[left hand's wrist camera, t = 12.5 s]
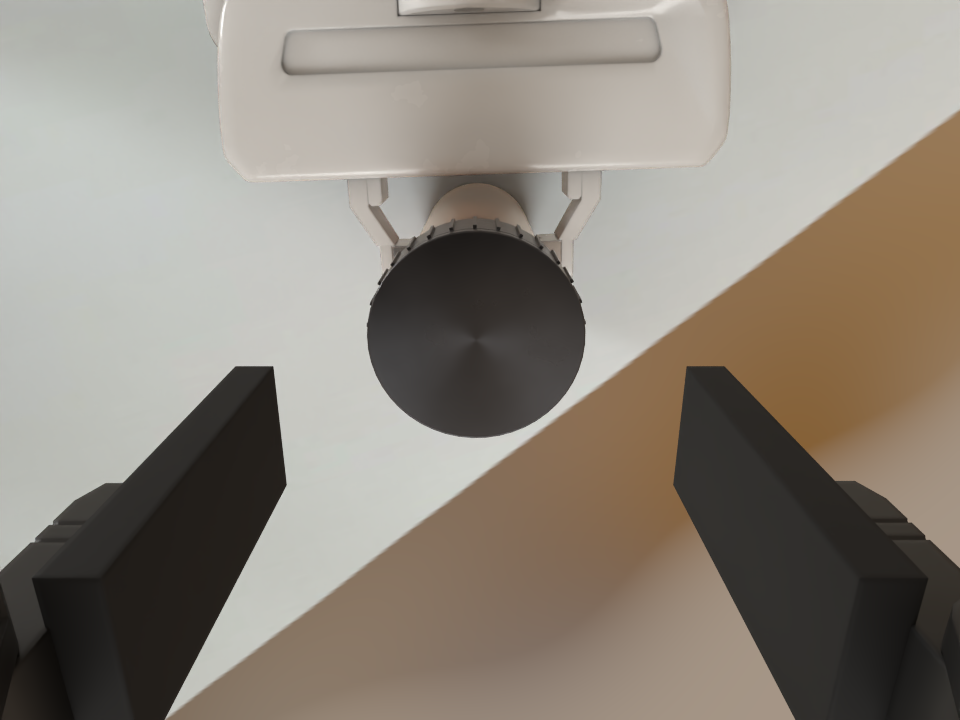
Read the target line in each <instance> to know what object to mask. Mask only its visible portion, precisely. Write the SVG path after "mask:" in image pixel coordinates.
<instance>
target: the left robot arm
mask: <svg viewBox="0 0 960 720" xmlns="http://www.w3.org/2000/svg"><path fill="white" fill-rule="evenodd" d="M286 485H287V484H286V475H285V466H284V457H283V448H282V439H281V431H280V422H279V413H278V404H277V395H276V386H275V378H274V369H273V366H236V367H235V368H234V369H233V370H232V371H231V372H230V373H229V374H228V375H227V376H226V377H225V378H224V379H223V380H222V381H221V382H220V383H219V384H218V385H217V386H216V387H215V388H214V389H213V390H212V391H211V392H210V393H209V395H208V396H207V397H206V398H205V399H204V400H203V401H202V402H201V403H200V404H199V405H198V406H197V407H196V408H195V409H194V410H193V411H192V412H191V413H190V414H189V415H188V416H187V417H186V418H185V419H184V420H183V421H182V423H181V424H180V425H179V426H178V427H177V428H176V429H175V430H174V431H173V432H172V433H171V434H170V435H169V436H168V437H167V438H166V439H165V440H164V441H163V442H162V443H161V444H160V445H159V446H158V447H157V448H156V449H155V450H154V452H153V453H152V454H151V455H150V456H149V457H148V458H147V459H146V460H145V461H144V462H143V463H142V464H141V465H140V466H139V467H138V468H137V469H136V470H135V471H134V472H133V473H132V474H131V475H130V476H129V477H128V478H127V480H126V481H125V482H124V483H105V484H103V485H102V486H100V487H98V488H96V489H95V490H93V491H91V492H89V493H87V494H86V495H84V496H82V497H80V498H79V499H77V500H75V501H74V502H73V503H72V504H71V505H70V506H68V507H67V508H66V509H65V510H64V511H63V512H62V513H61V514H60V515H59V516H58V517H57V518H56V519H55V520H54V521H53V525H49V526H48V527H47V528H45V529H44V530H43V531H42V532H41V533H40V534H39V535H38V536H37V537H36V538H35V543H30V544H29V545H28V546H27V547H26V548H25V549H24V550H22V551H21V552H20V553H19V554H18V555H17V556H16V557H15V558H14V559H13V560H12V561H11V562H10V563H9V564H8V565H7V566H6V567H5V568H4V569H3V570H2V571H1V572H0V720H165V718H166V716H167V714H168V712H169V710H170V708H171V706H172V704H173V703H174V701H175V699H176V697H177V695H178V693H179V691H180V689H181V687H182V685H183V683H184V681H185V679H186V678H187V676H188V674H189V672H190V670H191V668H192V666H193V664H194V662H195V660H196V658H197V656H198V654H199V653H200V651H201V649H202V647H203V645H204V643H205V641H206V639H207V637H208V635H209V633H210V631H211V629H212V628H213V626H214V624H215V622H216V620H217V618H218V616H219V614H220V612H221V610H222V608H223V606H224V604H225V603H226V601H227V599H228V597H229V595H230V593H231V591H232V589H233V587H234V585H235V583H236V581H237V579H238V578H239V576H240V574H241V572H242V570H243V568H244V566H245V564H246V562H247V560H248V558H249V556H250V554H251V553H252V551H253V549H254V547H255V545H256V543H257V541H258V539H259V537H260V535H261V533H262V531H263V529H264V528H265V526H266V524H267V522H268V520H269V518H270V516H271V514H272V512H273V510H274V508H275V506H276V504H277V503H278V501H279V499H280V497H281V495H282V493H283V491H284V489H285V487H286ZM673 485H674V487H675V489H676V491H677V493H678V495H679V497H680V499H681V501H682V503H683V504H684V506H685V508H686V510H687V512H688V514H689V516H690V518H691V520H692V522H693V524H694V526H695V528H696V529H697V531H698V533H699V535H700V537H701V539H702V541H703V543H704V545H705V547H706V549H707V551H708V552H709V554H710V556H711V558H712V560H713V562H714V564H715V566H716V568H717V570H718V572H719V574H720V576H721V577H722V579H723V581H724V583H725V585H726V587H727V589H728V591H729V593H730V595H731V597H732V599H733V601H734V603H735V604H736V606H737V608H738V610H739V612H740V614H741V616H742V618H743V620H744V622H745V624H746V626H747V628H748V629H749V631H750V633H751V635H752V637H753V639H754V641H755V643H756V645H757V647H758V649H759V650H760V653H761V654H762V656H763V658H764V660H765V662H766V664H767V666H768V668H769V670H770V672H771V674H772V676H773V677H774V679H775V681H776V683H777V685H778V687H779V689H780V691H781V693H782V695H783V697H784V699H785V701H786V702H787V704H788V706H789V708H790V710H791V712H792V714H793V716H794V718H795V720H960V568H959V567H958V566H957V565H956V564H955V563H954V562H952V561H951V560H950V559H949V558H948V557H947V556H946V555H945V554H944V553H943V552H942V551H941V550H940V549H939V548H938V547H937V546H936V545H935V544H933V542H931V541H930V540H926V539H925V535H924V534H923V533H922V532H921V531H920V530H919V529H918V528H917V527H916V526H915V525H913V524H912V523H908V521H907V518H906V517H905V516H904V515H903V514H902V513H901V512H900V511H899V510H898V509H897V508H896V507H895V506H894V505H892V504H891V503H890V502H889V501H888V500H887V499H886V498H884V497H883V496H881V495H879V494H877V493H875V492H874V491H872V490H870V489H868V488H866V487H865V486H863V485H861V484H859V483H857V482H856V481H834V480H833V478H832V477H831V476H830V475H829V474H828V473H827V472H826V471H825V470H824V469H823V468H822V467H821V466H820V465H819V464H818V463H817V462H816V461H815V460H814V459H813V458H812V457H811V456H810V455H809V454H808V453H807V452H806V451H805V449H804V448H803V447H802V446H801V445H800V444H799V443H798V442H797V441H796V440H795V439H794V438H793V437H792V436H791V435H790V434H789V433H788V432H787V431H786V430H785V429H784V428H783V427H782V426H781V425H780V424H779V423H778V422H777V420H776V419H775V418H774V417H773V416H772V415H771V414H770V413H769V412H768V411H767V410H766V409H765V408H764V407H763V406H762V405H761V404H760V403H759V402H758V401H757V400H756V399H755V398H754V397H753V396H752V395H751V393H750V392H749V391H748V390H747V389H746V388H745V387H744V386H743V385H742V384H741V383H740V382H739V381H738V380H737V379H736V378H735V377H734V376H733V375H732V374H731V373H730V372H729V371H728V370H727V369H726V368H725V367H724V366H687V369H686V378H685V387H684V395H683V404H682V413H681V422H680V431H679V440H678V449H677V457H676V466H675V475H674V484H673Z"/></svg>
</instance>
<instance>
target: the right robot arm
mask: <svg viewBox="0 0 960 720" xmlns="http://www.w3.org/2000/svg"><path fill="white" fill-rule="evenodd" d="M203 4H204V10H205V17H206V23H207V27H208V30H209V33H210V36H211V38H212V40H213V41H214V43H215V45H216V46H217V47H218V53H217V78H218V105H219V119H220V130H221V140H222V147H223V152H224V156H225V158H226V160H227V162H228V163H229V164H230V165H231V166H232V167H233V168H234V169H235V170H236V171H237V173H238V174H239V175H240V176H241V177H242V178H243V179H244V180H246V181H248V182H280V181H308V180H337V179H347V184H348V194H349V204H350V208H351V210H352V211H353V213H354V214H355V216H356V217H357V218H358V220H359V221H360V223H361V224H362V226H363V227H364V229H365V230H366V231H367V233H368V234H369V236H370V237H371V239H372V240H373V241H374V243H375V244H376V246H380V255H381V266H382V275H383V274H384V272H385V270H386V269H390V267H391V266H390V264H391V262H392V260H393V259H394V257H395V255H396V254H397V252H398V251H400V252H402V251H403V250H404V249H405V248H406V246H407V245H409V243H410V241H411V239H399V237H398V235H397V234H396V232H395V231H394V229H393V227H392V226H391V224H390V223H389V221H388V220H387V218H386V216H385V215H384V213H383V212H382V210H381V209H380V207H379V206H380V205H381V204H382V203H383V202H384V201H385V200H386V199H387V198H388V197H389V196H388V181H387V178H395V177H423V176H452V175H481V174H510V173H539V172H562V192H563V193H564V194H565V195H566V196H567V197H569V198H570V199H572V201H571V203H570V204H569V206H568V208H567V210H566V212H565V213H564V215H563V217H562V219H561V221H560V223H559V224H558V226H557V228H556V230H555V232H554V233H555V234H539V235H537V236H538V237H539V238H540V240H541V242H542V243H543V244H544V245H545V246H546V247H547V248H548V249H549V250H550V251H551V250H552V249H553V250H554V251H555V253H556V255H557V257H558V259H559V260H560V262H561V263H560V264H561V266H562V267H566V269H567V270H568V272H569V274H570V276H571V278H572V275H573V240H576V239H577V238H578V236H579V234H580V233H581V231H582V229H583V228H584V226H585V224H586V223H587V221H588V219H589V218H590V216H591V214H592V213H593V211H594V209H595V208H596V206H597V204H598V203H599V201H600V199H601V170H625V169H654V168H682V167H702V166H704V165H706V164H707V163H708V162H709V161H710V160H711V159H712V158H713V156H714V155H715V154H716V153H717V152H718V150H719V149H720V148H721V146H722V145H723V144H724V142H725V140H726V137H727V133H728V124H729V113H730V94H731V45H730V26H729V13H728V6H727V1H726V0H203Z"/></svg>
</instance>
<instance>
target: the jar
mask: <svg viewBox="0 0 960 720" xmlns="http://www.w3.org/2000/svg"><path fill="white" fill-rule="evenodd" d="M473 216H477V218H482V219H491V220H495V218H499V221H501V222H505V223H508V224H511V225H513V226H516V225H517V224H518V225H520V227H521V229H522V230H524V231H526V232H528V233H530V234H531V235H533V236H534V237H535V235H534V233H533V231H532V229H531V227H530V224H529V222H528V220H527V218H526V216H525V213H524V211H523V210H522V208H521V206H520V205H519V203H518V202H517V201H516V200H515V199H514V198H513V197H512V196H511V195H510V194H509V193H507V192H506V191H504V190H502V189H501V188H499V187H496V186H493V185H490V184H485V183H470V184H465V185H462V186H459V187H456V188H454V189H452V190H451V191H449V192H448V193H446V194H445V195H444V196H443V197H442V198H441V199H440V200H439V201H438V202H437V203H436V205H435V206H434V208H433V209H432V211H431V213H430V215H429V217H428V220H427V222H426V224H425V226H424V228H423V230H422V232H421V234H420V235H422V234H423V233H425V232H427V231H428V230H429V229H430V227H431V226H433V225H434V227H437V226H439V225H442V224H445V223H448V222H451V219H454V218H455V221H456V220H462V219H473Z"/></svg>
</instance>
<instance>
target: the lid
mask: <svg viewBox="0 0 960 720" xmlns="http://www.w3.org/2000/svg"><path fill="white" fill-rule="evenodd" d="M560 263H561V262H560V260H559V259H558V257H557V255H556V253H555V251H554V250H553V249H552V250H551V251H550V250H549V249H548V248H547V247H546V246H545V245H544V244H543V243H542V242H541V240H540V238H539V237H538V236H537V235H536V236H535V237H534V236H533V235H531V234H530V233H528V232H526V231H524V230H522V229H521V227H520V225H518V224H517V225H516V226H513V225H511V224H508V223H505V222H501V221H499V218H495V220H491V219H482V218H477V216H473V219H462V220H456V221H455V218H454V219H451V222H448V223H445V224H442V225H439V226H437V227H434V225H433V226H431V227H430V229H429V230H428V231H427V232H425V233H423V234H422V235H420V236H419V237H417V238H416V237H415V236H414V237H413V238H412V239H411V241H410V243H409V245H407V246H406V248H405V249H404V250H403V251H402V252H400V251H398V252H397V254H396V255H395V257H394V259H393V260H392V262H391V264H390V266H391V267H390V269H386V270H385V272H384V274H383V275H382V277H381V279H380V280H379V282H378V285H380V286H379V288H378V290H377V292H376V293H375V295H374V297H373V298H372V300H371V302H370V305H371V308H370V313H369V318H368V323H367V327H368V328H367V340H368V350H369V355H370V359H371V363H372V366H373V368H374V371H375V374H376V376H377V378H378V380H379V382H380V383H381V385H382V387H383V388H384V390H385V391H386V393H387V394H388V395H389V397H390V398H391V399H392V400H393V401H394V402H395V403H396V405H397V406H398V407H399V408H400V409H402V410H403V411H404V412H405V413H406V414H408V415H409V416H410V417H412V418H413V419H415V420H416V421H418V422H419V423H421V424H423V425H425V426H427V427H429V428H431V429H433V430H436V431H439V432H442V433H445V434H449V435H454V436H459V437H469V438H486V437H493V436H500V435H503V434H507V433H511V432H514V431H516V430H519V429H521V428H524V427H526V426H528V425H530V424H531V423H533V422H535V421H537V420H538V419H540V418H541V417H542V416H544V415H545V414H547V413H548V412H549V411H550V410H551V409H552V408H553V407H554V406H555V405H556V404H557V403H558V402H559V401H560V400H561V399H562V397H563V396H564V395H565V394H566V392H567V391H568V389H569V388H570V386H571V385H572V383H573V381H574V379H575V377H576V375H577V373H578V370H579V367H580V364H581V361H582V358H583V352H584V346H585V324H586V322H585V319H584V315H583V311H582V307H581V303H582V300H581V298H580V296H579V294H578V293H577V291H576V289H575V287H574V286H573V285H572V284H571V283H573V282H574V281H573V279H572V278H571V276H570V274H569V272H568V270H567V269H566V267H562V266H561V264H560Z"/></svg>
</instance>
